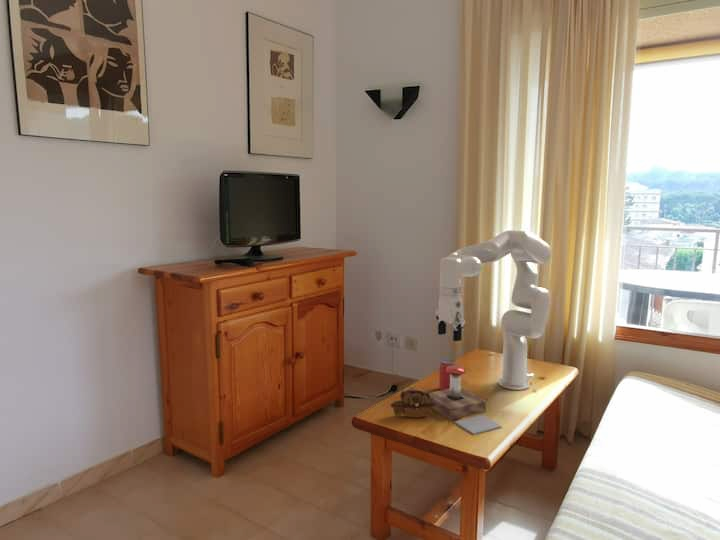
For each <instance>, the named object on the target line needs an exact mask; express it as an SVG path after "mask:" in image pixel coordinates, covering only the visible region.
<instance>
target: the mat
mask: <svg viewBox="0 0 720 540" xmlns="http://www.w3.org/2000/svg"><path fill="white" fill-rule="evenodd" d="M454 423H455V425H457V426H459V427H460V428H462V429H463V430H465V431H467V432H468V433H470V434H471V435H473V436H475V435H479V434H483V433H486V432H491V431H494V429H495V430H498V428H499V429H502V428H503V427H502V425H501V424H499V423H497V422H496V421H494V420H492V419H490V418H489V417H487V416H485V415H483V414H482V415H481V414H480V415H476V416H473V417H469V418H465V419H464V418H463V419H460V420H456V421H454ZM501 427H502V428H501Z"/></svg>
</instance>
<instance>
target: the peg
mask: <svg viewBox="0 0 720 540" xmlns="http://www.w3.org/2000/svg"><path fill="white" fill-rule="evenodd" d="M446 371H447V373H450V399H451V400H453V401H456V400H460V399H461V388H462V375H464V374H465V373H466V367H464V366H461V365H456V364H455V365H452V366H448V367H447V368H446Z"/></svg>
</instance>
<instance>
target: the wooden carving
mask: <svg viewBox="0 0 720 540" xmlns="http://www.w3.org/2000/svg"><path fill="white" fill-rule="evenodd" d="M429 393H430V392H429V391H428V390H423V389H421V388H414V387H413V388H407V389H406V390H401V393H400V398H401V400H400V399H399V400H397V399H396V400H394V401H391V402H390V407H391V408H392V410H393V413H394V415H395V416H400V415H404V416H406V417H409V418H421V417H424V416H427V415H429V414H431V413H432V412H433V409H432V408H431V407H430V406H436V405H437V404H436V402H434V401H433V402H430V401H429V399H430V395H429Z"/></svg>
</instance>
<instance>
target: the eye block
mask: <svg viewBox="0 0 720 540" xmlns="http://www.w3.org/2000/svg"><path fill="white" fill-rule="evenodd" d="M428 393H429V395H430V399H429V401H430V402H433V401H434V402H436V404H437V405H436V406H430V408H431V409H432V410H434V411H435V412H437V413H439V414H440V415H442V416H444V418H447V419H448V420H449V421H451V420H456V419H460V418H465V417H468V416H472V415H476V414H480V413H485V412H487V401H486V400H485V399H483V398H482V397H480V396H478V395H476V394H474V393H473V392H470V391H468V390H466V389H464V388H463V387H461V399H460V400H456V401H453V400H451V399H450V389H446V390H437V391H431V392H428Z"/></svg>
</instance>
